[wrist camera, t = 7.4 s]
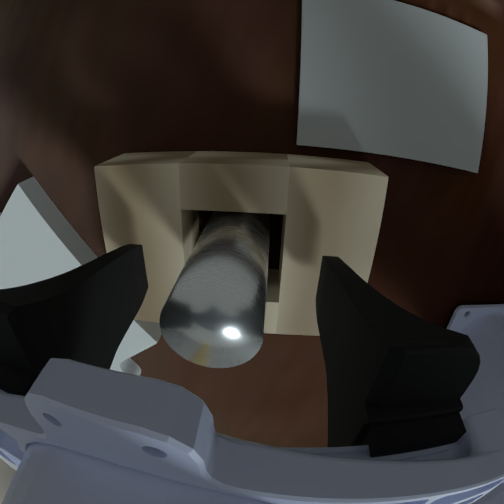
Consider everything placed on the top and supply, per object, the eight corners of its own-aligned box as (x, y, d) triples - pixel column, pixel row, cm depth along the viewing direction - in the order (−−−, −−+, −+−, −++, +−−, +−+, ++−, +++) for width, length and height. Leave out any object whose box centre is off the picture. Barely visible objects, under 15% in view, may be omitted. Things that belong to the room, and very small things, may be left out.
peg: (276, 202, 15) (274, 301, 8) (264, 256, 16) (252, 375, 9) (215, 190, 15) (159, 278, 8) (207, 245, 16) (159, 355, 9)
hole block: (368, 161, 14) (388, 176, 11) (343, 301, 17) (352, 336, 15) (124, 153, 14) (94, 166, 12) (140, 286, 18) (121, 317, 15)
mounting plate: (-30, 250, 19) (-43, 260, 17) (18, 147, 15) (-2, 154, 13) (98, 389, 25) (91, 404, 23) (191, 347, 20) (185, 367, 19)
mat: (483, 35, 9) (487, 34, 9) (474, 171, 13) (477, 173, 13) (301, -14, 10) (302, -16, 10) (296, 144, 14) (296, 145, 13)
